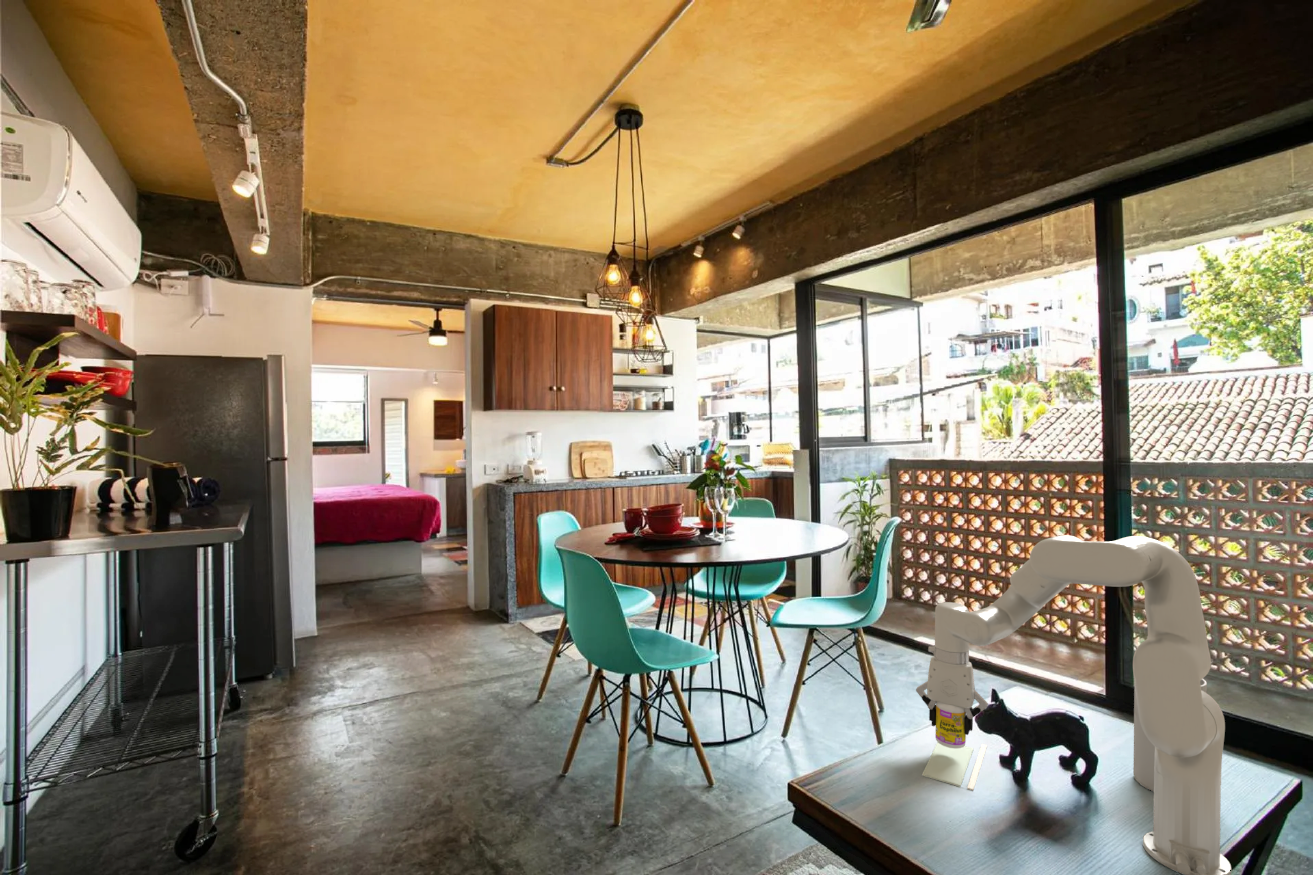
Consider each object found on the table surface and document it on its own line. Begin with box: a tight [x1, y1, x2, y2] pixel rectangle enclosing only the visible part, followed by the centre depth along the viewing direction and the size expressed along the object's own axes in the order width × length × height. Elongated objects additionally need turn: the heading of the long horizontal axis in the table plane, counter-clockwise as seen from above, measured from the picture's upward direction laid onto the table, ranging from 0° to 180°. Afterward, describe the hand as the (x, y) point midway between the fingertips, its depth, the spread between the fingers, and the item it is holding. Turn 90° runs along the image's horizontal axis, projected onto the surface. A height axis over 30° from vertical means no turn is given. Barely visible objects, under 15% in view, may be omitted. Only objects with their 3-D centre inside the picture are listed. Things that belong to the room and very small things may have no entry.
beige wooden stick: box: [967, 743, 988, 791], centre depth 149 cm, size 24×1×1 cm, turn 146°
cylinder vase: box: [1133, 678, 1208, 793], centre depth 141 cm, size 12×12×25 cm
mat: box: [922, 741, 974, 788], centre depth 151 cm, size 20×8×1 cm, turn 146°
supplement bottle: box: [935, 702, 967, 749], centre depth 152 cm, size 7×7×13 cm
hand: (950, 727), depth 152 cm, fingers closed on supplement bottle, 6 cm apart
